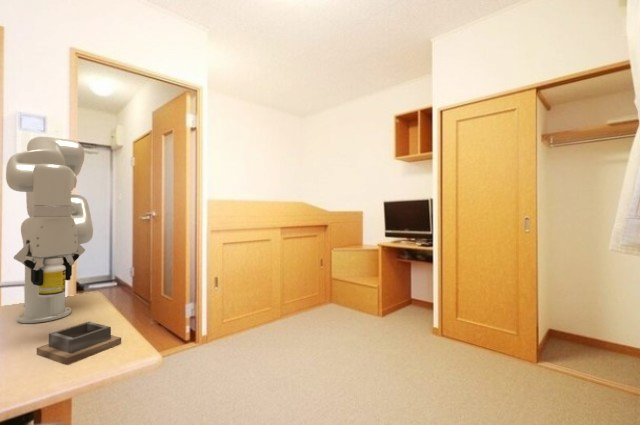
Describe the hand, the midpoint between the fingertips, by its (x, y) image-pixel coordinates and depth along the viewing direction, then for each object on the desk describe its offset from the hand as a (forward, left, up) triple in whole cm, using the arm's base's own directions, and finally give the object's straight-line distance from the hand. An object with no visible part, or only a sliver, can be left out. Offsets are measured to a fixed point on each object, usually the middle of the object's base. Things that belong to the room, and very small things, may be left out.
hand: (52, 281), depth 81 cm
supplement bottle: (0, 0, -4) cm, 4 cm away
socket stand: (+13, 0, -15) cm, 20 cm away
